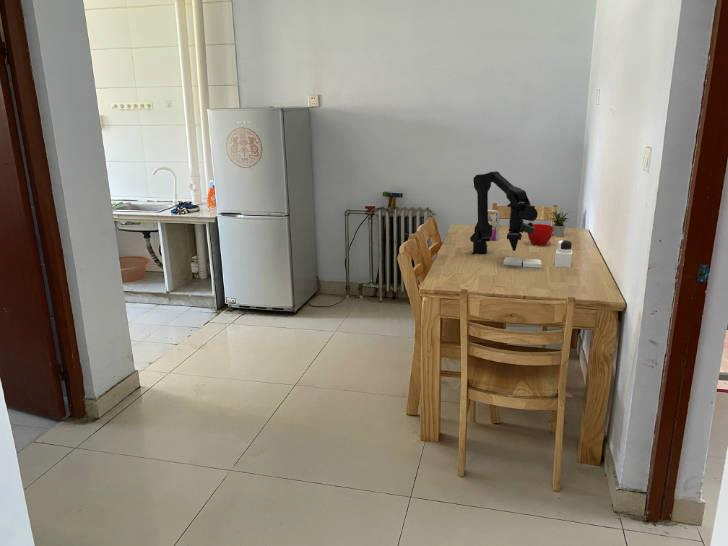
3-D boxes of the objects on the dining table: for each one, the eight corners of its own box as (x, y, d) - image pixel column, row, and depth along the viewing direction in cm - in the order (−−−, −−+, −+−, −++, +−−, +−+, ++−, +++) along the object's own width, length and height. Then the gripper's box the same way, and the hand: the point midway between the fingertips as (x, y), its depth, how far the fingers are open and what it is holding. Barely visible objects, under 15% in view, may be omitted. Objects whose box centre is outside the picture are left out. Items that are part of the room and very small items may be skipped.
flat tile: (523, 267, 261) (523, 263, 260) (522, 262, 268) (523, 258, 268) (541, 268, 259) (541, 264, 258) (540, 263, 266) (540, 259, 266)
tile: (505, 261, 272) (503, 265, 265) (505, 257, 271) (503, 261, 264) (522, 262, 270) (521, 266, 262) (522, 258, 269) (521, 262, 262)
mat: (503, 267, 263) (503, 266, 263) (506, 259, 278) (506, 258, 278) (539, 270, 258) (539, 269, 258) (540, 261, 273) (540, 260, 273)
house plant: (539, 236, 326) (541, 208, 321) (546, 232, 337) (549, 204, 332) (564, 239, 318) (567, 210, 313) (571, 234, 329) (574, 206, 324)
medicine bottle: (570, 265, 266) (573, 239, 263) (570, 268, 260) (573, 243, 257) (554, 263, 269) (556, 238, 265) (554, 267, 262) (556, 242, 259)
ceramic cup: (561, 244, 307) (562, 225, 304) (540, 248, 298) (542, 229, 295) (541, 239, 317) (543, 222, 315) (521, 244, 308) (522, 225, 305)
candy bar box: (476, 239, 321) (477, 210, 317) (479, 237, 325) (481, 208, 321) (495, 241, 315) (497, 211, 311) (498, 239, 319) (500, 210, 315)
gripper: (533, 222, 252) (531, 256, 256) (535, 215, 269) (533, 247, 273) (507, 221, 255) (505, 255, 259) (511, 213, 272) (509, 245, 276)
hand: (514, 250), depth 267 cm, fingers closed
